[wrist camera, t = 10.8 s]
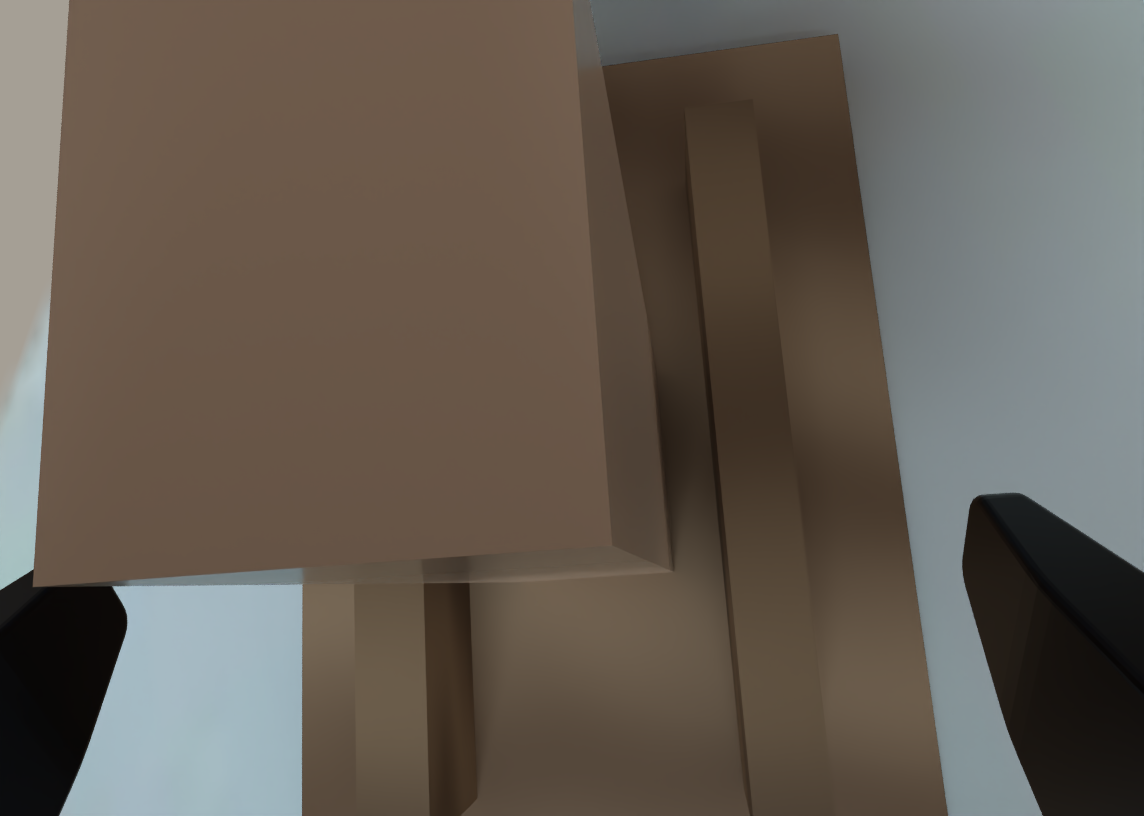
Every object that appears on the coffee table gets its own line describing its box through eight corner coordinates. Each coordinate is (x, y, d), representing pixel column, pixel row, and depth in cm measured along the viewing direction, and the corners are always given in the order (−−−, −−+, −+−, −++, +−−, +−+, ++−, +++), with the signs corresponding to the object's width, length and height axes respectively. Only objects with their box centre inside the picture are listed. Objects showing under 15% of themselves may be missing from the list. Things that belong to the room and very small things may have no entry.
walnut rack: (952, 946, 16) (1037, 1066, 12) (323, 953, 17) (215, 1062, 13) (830, 61, 19) (865, -69, 15) (321, 129, 21) (236, 25, 17)
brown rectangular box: (656, 372, 18) (559, -168, 5) (674, 572, 17) (612, 545, 4) (512, 385, 18) (73, -82, 5) (521, 582, 17) (31, 586, 4)
